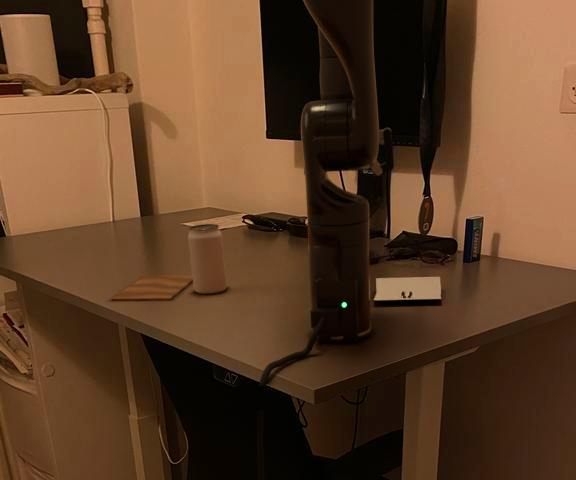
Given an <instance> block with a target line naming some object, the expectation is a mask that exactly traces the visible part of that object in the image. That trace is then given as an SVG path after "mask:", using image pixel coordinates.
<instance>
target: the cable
mask: <svg viewBox="0 0 576 480" xmlns="http://www.w3.org/2000/svg"><path fill="white" fill-rule="evenodd" d="M369 255H370V256H369V257H370V264H372V263H373V264H374V263H375V262H377V261H378V260H380V259H384V258H389V257H394V258H395V259H407V258H413V257H419V256H420V251H419V252H412V253H407V254H406V253H404V254H400V252H399V251H396V249H394V251H392V253H390V254H383V255H380V253H379V251H378V250H375V249H371V248H369Z"/></svg>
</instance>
